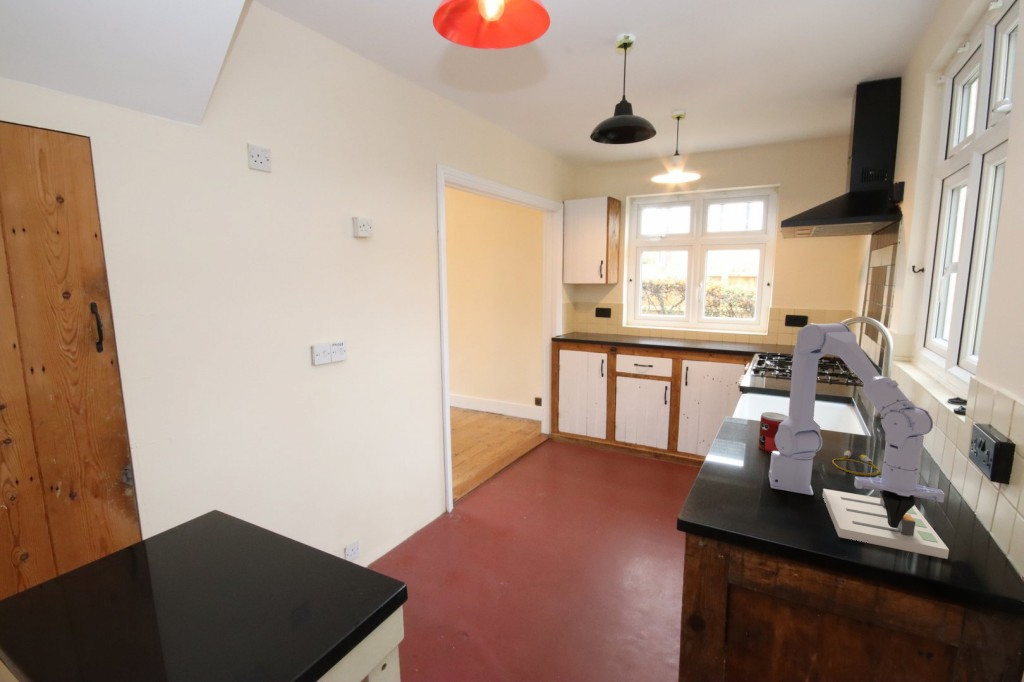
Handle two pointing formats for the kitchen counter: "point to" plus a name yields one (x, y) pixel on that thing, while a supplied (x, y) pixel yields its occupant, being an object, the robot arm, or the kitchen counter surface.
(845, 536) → the breaker panel
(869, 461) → the extension cord
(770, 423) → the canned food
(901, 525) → the handle
